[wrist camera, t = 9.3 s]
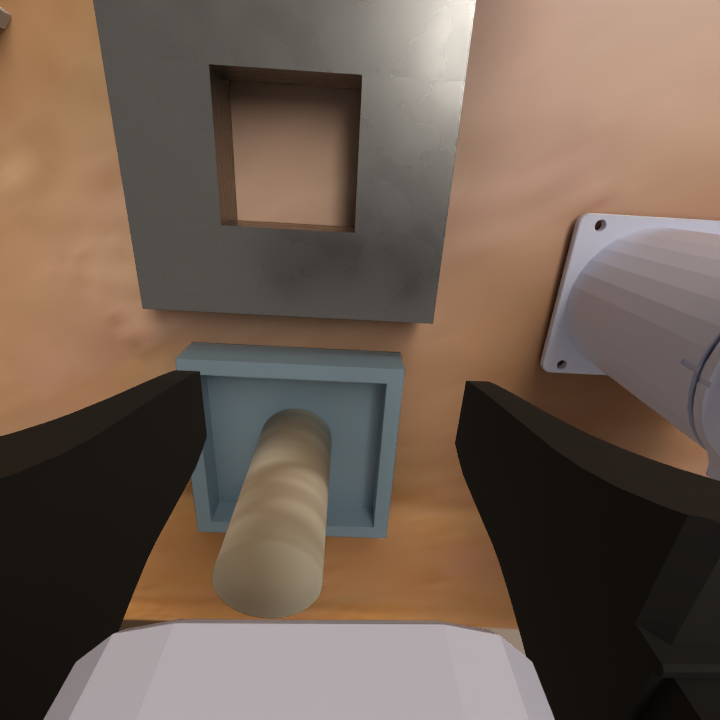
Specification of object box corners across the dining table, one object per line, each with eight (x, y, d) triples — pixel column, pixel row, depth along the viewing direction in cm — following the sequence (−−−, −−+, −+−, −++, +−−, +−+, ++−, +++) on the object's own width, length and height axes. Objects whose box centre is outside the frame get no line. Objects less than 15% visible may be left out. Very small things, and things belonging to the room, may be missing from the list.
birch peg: (332, 409, 22) (322, 542, 14) (331, 468, 24) (322, 618, 16) (258, 407, 22) (206, 541, 14) (262, 466, 24) (217, 618, 16)
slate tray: (400, 352, 22) (404, 369, 20) (383, 510, 26) (386, 538, 24) (192, 342, 21) (175, 358, 19) (210, 504, 26) (198, 531, 24)
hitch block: (464, -19, 16) (483, -54, 13) (424, 308, 21) (432, 323, 18) (120, -46, 15) (79, -87, 13) (166, 294, 20) (142, 308, 18)
